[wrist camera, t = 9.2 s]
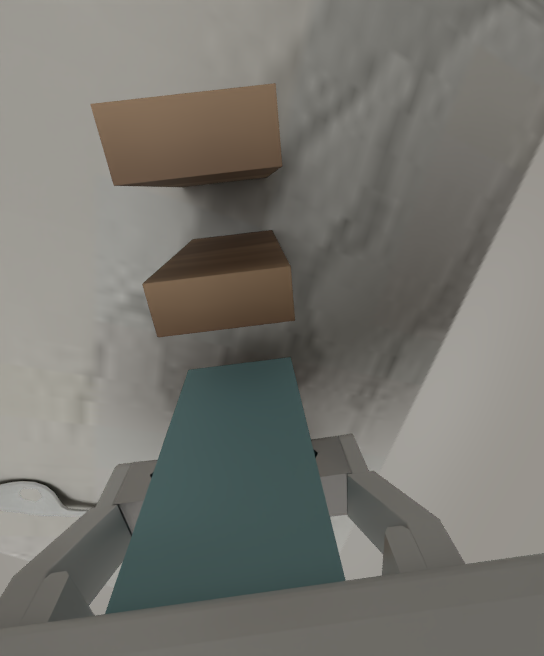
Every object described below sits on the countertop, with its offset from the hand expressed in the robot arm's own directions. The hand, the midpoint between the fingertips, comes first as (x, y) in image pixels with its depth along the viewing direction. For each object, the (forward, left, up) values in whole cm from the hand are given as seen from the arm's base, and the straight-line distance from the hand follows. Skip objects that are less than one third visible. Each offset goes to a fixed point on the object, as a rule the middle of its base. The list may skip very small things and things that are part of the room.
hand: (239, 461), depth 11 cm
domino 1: (0, -10, -12) cm, 16 cm away
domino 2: (0, -5, -12) cm, 13 cm away
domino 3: (0, 0, -5) cm, 5 cm away
